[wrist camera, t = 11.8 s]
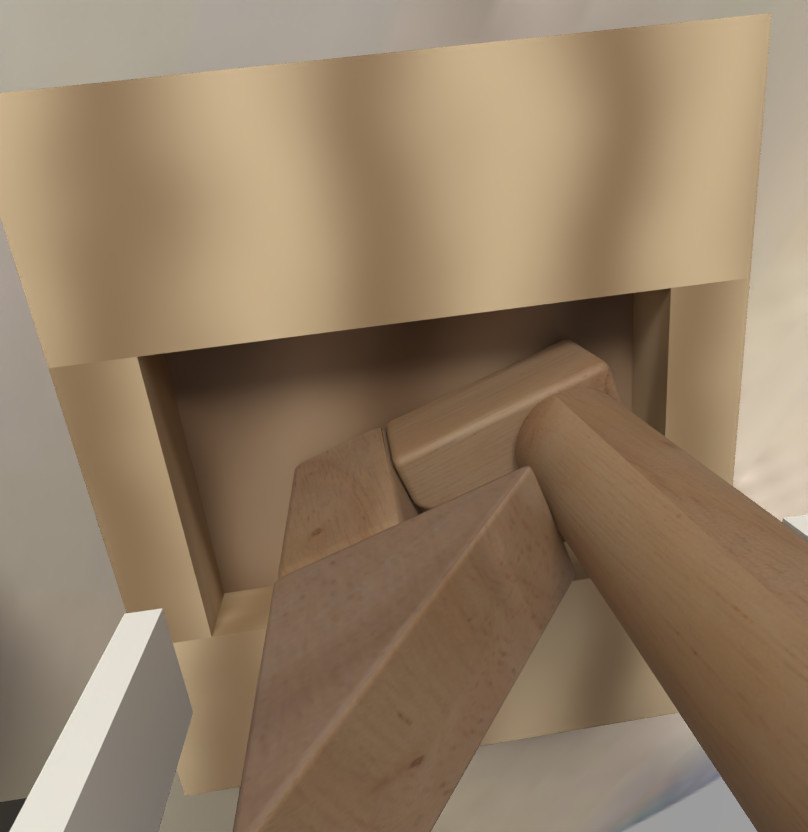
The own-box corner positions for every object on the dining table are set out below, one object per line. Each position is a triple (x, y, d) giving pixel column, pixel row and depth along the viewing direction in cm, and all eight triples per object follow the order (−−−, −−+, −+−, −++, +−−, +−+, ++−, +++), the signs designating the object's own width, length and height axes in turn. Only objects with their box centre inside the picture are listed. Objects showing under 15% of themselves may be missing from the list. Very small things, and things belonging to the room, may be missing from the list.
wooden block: (291, 462, 22) (135, 1330, 5) (566, 333, 21) (1409, 834, 5) (337, 542, 23) (334, 1449, 6) (599, 421, 23) (1355, 1072, 6)
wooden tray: (691, 47, 20) (771, 13, 16) (664, 639, 28) (714, 706, 25) (36, 116, 19) (-38, 97, 15) (206, 713, 27) (185, 796, 23)
